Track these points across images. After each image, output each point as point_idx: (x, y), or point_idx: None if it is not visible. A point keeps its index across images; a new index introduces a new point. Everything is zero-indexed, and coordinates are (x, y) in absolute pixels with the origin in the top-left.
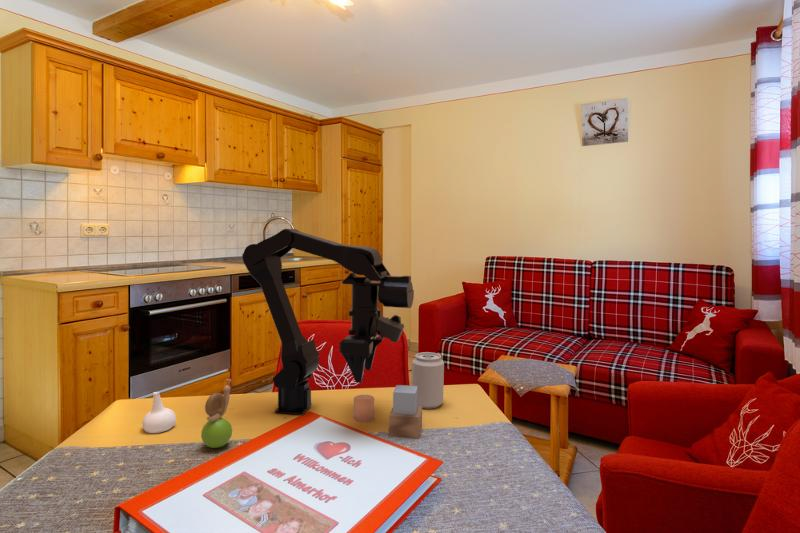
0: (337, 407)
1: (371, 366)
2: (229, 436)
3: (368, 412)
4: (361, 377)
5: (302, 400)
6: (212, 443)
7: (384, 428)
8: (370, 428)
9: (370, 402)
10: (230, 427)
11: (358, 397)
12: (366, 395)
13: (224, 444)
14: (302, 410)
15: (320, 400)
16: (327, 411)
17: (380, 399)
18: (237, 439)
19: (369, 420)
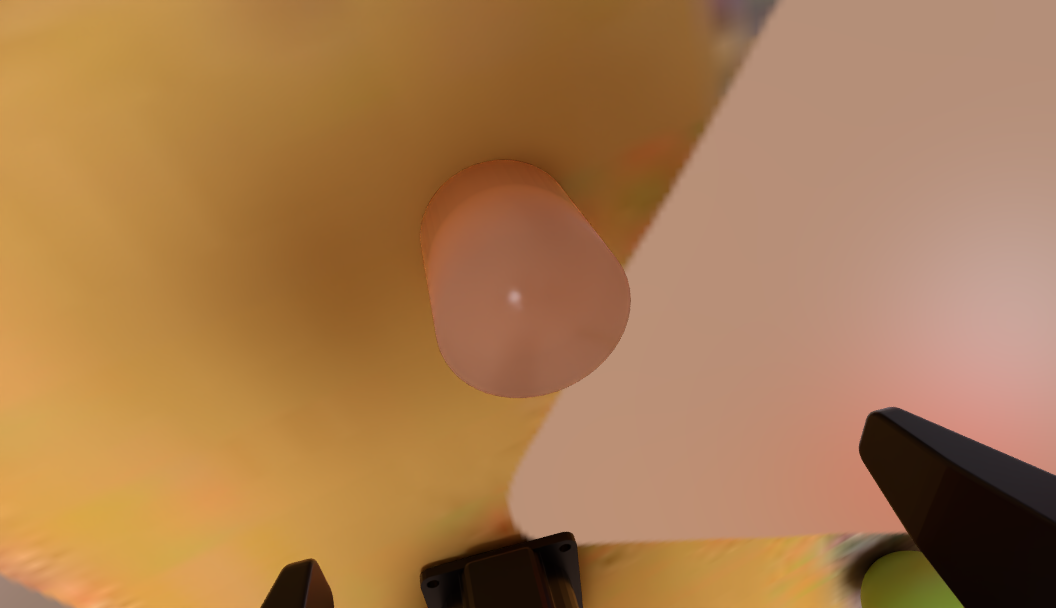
0: (389, 455)
1: (273, 604)
2: (931, 569)
3: (574, 206)
4: (984, 446)
5: (554, 604)
6: None
7: (650, 2)
8: (667, 115)
9: (588, 231)
10: (941, 601)
11: (534, 366)
12: (456, 331)
13: (913, 551)
14: (546, 551)
15: (328, 572)
16: (475, 466)
17: (23, 278)
18: (831, 553)
19: (548, 175)
